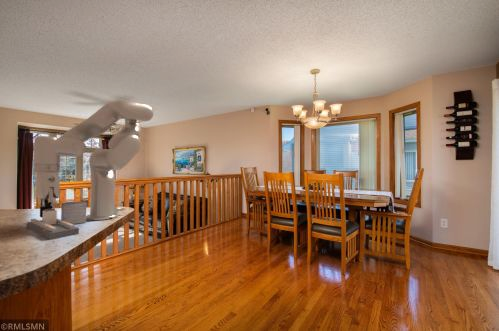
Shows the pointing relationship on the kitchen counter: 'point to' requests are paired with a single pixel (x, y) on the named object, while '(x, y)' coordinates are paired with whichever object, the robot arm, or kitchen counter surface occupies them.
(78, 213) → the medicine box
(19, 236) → the kitchen counter surface
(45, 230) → the console board
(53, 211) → the fader tab
